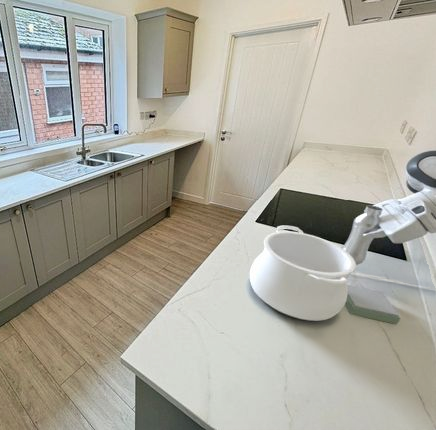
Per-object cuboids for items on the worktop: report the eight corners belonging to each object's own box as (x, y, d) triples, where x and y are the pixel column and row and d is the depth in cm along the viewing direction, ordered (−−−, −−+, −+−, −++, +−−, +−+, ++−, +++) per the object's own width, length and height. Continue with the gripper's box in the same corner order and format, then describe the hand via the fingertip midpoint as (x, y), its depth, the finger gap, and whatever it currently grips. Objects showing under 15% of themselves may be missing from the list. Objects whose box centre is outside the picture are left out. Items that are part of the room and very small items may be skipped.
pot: (237, 263, 96) (247, 222, 88) (310, 270, 93) (327, 227, 85) (262, 326, 72) (280, 277, 64) (363, 339, 68) (395, 288, 60)
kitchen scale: (379, 298, 80) (383, 291, 79) (396, 324, 72) (401, 316, 70) (337, 289, 84) (341, 282, 82) (349, 313, 75) (354, 306, 74)
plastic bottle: (336, 253, 93) (359, 201, 84) (362, 260, 89) (388, 207, 80) (336, 262, 88) (360, 208, 79) (362, 269, 84) (390, 214, 75)
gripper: (395, 189, 84) (346, 211, 92) (428, 215, 67) (364, 239, 76) (407, 204, 84) (357, 225, 92) (443, 234, 67) (377, 255, 76)
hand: (360, 231), depth 84 cm, fingers closed on plastic bottle, 6 cm apart
